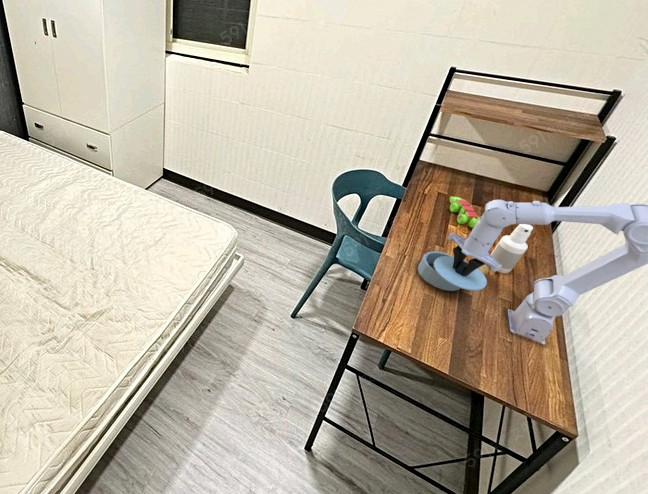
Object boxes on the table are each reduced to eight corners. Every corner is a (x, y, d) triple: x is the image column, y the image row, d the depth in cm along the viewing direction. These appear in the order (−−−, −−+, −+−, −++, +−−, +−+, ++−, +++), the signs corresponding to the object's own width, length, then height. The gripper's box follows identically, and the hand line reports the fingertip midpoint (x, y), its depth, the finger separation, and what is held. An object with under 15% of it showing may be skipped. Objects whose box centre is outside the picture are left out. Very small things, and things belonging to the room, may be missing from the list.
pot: (461, 297, 127) (469, 286, 124) (415, 280, 132) (422, 269, 129) (461, 272, 136) (468, 261, 133) (418, 257, 141) (425, 246, 138)
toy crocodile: (443, 201, 169) (450, 189, 166) (461, 203, 168) (468, 192, 165) (463, 232, 153) (471, 219, 150) (483, 234, 152) (491, 222, 149)
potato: (472, 281, 133) (478, 272, 131) (460, 272, 136) (466, 264, 134) (487, 276, 135) (493, 267, 133) (476, 267, 138) (481, 259, 136)
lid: (486, 299, 117) (494, 288, 114) (432, 279, 122) (438, 268, 120) (483, 269, 126) (491, 259, 124) (433, 252, 132) (439, 242, 129)
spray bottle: (487, 269, 137) (515, 228, 127) (484, 256, 142) (511, 216, 132) (512, 276, 135) (542, 235, 125) (508, 263, 140) (537, 223, 130)
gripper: (448, 224, 120) (429, 257, 128) (498, 258, 109) (474, 292, 117) (465, 220, 122) (446, 252, 130) (515, 252, 111) (490, 286, 119)
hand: (460, 271), depth 123 cm, fingers closed on lid, 2 cm apart
